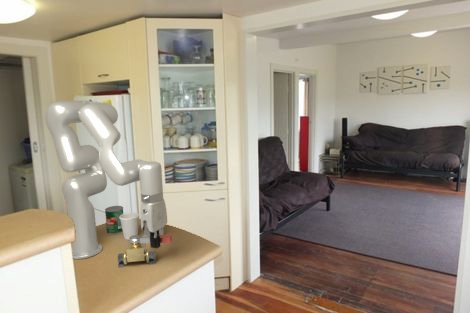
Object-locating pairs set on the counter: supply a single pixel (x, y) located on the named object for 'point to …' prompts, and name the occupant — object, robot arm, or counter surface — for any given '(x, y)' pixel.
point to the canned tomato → (114, 219)
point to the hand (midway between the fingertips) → (155, 246)
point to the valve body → (136, 255)
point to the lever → (144, 239)
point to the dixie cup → (129, 224)
